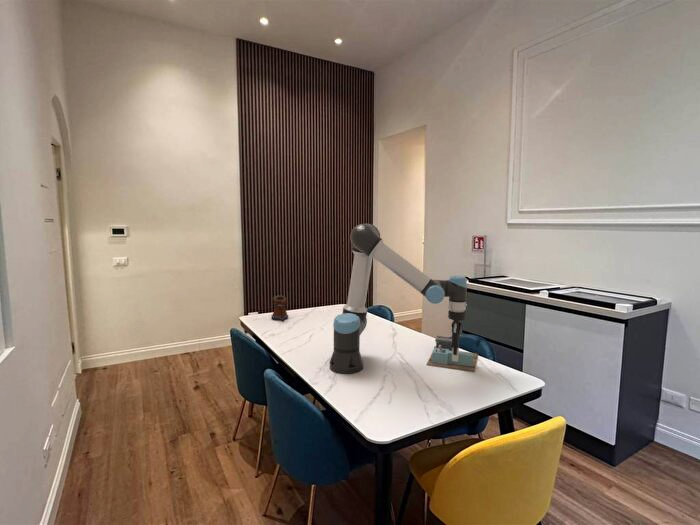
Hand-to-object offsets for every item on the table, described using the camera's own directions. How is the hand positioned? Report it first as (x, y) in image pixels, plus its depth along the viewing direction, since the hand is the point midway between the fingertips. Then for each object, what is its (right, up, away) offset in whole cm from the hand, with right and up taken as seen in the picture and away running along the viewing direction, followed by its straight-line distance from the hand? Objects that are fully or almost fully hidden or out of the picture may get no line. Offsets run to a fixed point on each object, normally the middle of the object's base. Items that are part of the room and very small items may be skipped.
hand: (455, 360), depth 174 cm
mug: (-94, +7, +79) cm, 123 cm away
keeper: (-1, 0, +17) cm, 17 cm away
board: (+1, -2, +9) cm, 9 cm away
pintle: (-6, -2, +4) cm, 8 cm away
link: (0, -2, +3) cm, 3 cm away
